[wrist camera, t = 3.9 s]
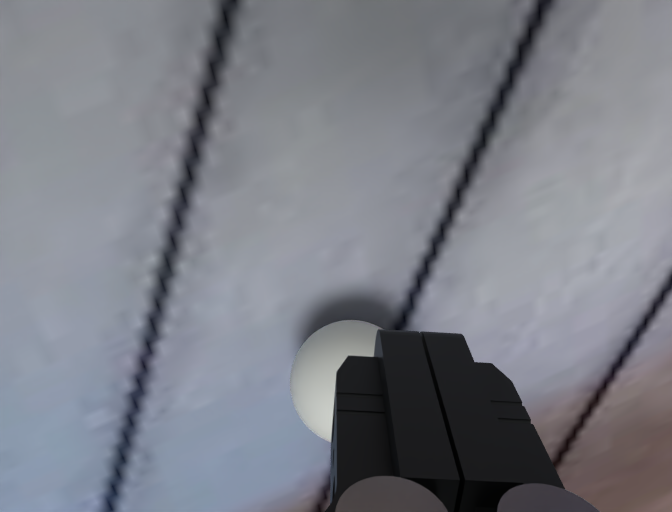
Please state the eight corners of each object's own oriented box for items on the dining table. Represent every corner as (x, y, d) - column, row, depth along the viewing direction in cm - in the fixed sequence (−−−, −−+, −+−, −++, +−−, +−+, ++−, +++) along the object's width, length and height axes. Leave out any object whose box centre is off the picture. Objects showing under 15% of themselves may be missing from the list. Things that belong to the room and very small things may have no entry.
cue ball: (295, 296, 27) (287, 361, 22) (411, 301, 27) (429, 367, 22) (292, 391, 29) (283, 471, 24) (399, 396, 29) (413, 477, 24)
